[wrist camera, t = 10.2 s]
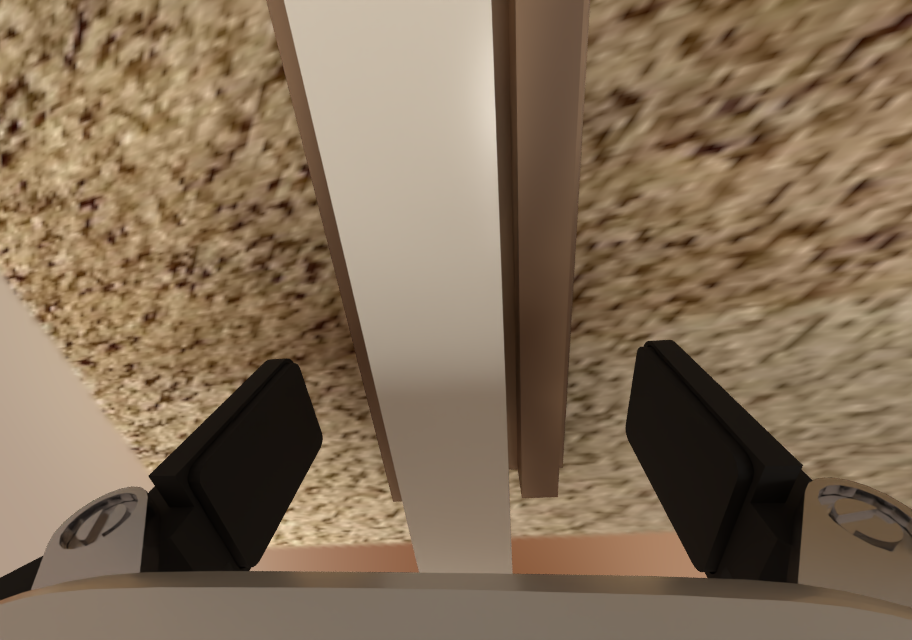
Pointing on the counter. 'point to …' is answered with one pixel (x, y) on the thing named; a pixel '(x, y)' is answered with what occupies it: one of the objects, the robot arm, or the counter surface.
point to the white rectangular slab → (421, 250)
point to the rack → (506, 220)
